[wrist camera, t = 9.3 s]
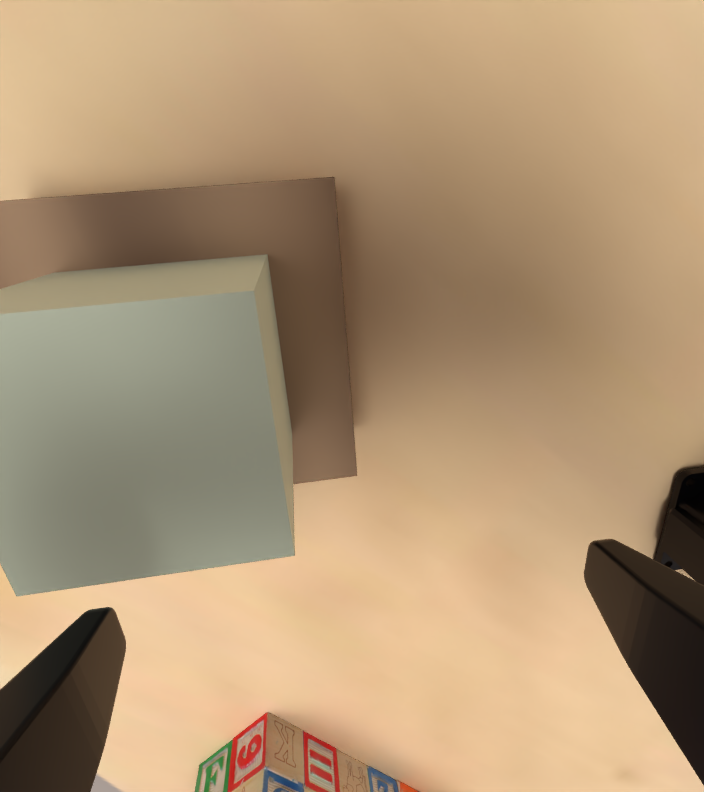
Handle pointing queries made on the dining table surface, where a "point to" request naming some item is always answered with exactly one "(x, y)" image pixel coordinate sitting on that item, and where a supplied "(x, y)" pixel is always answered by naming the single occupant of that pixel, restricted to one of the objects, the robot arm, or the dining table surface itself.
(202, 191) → the walnut block
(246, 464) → the sage cube
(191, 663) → the dining table surface
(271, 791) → the stack of blocks
